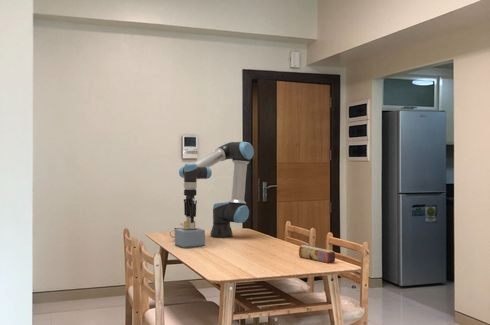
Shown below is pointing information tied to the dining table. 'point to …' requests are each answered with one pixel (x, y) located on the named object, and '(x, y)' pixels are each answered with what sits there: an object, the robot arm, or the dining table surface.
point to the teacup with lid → (177, 228)
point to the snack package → (317, 254)
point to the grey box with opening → (190, 238)
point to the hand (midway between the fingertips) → (190, 227)
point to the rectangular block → (186, 225)
